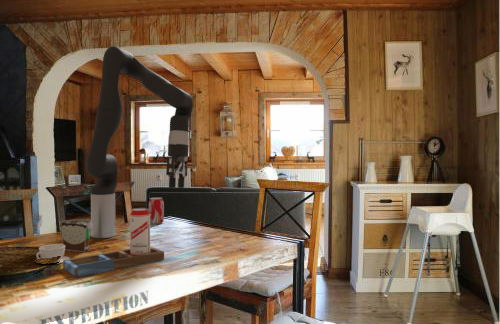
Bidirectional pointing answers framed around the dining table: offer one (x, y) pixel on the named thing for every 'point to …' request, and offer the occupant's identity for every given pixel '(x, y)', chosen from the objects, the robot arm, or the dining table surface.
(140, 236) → the beer can
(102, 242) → the dining table surface
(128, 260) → the slotted rack
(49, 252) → the teacup
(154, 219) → the soda can
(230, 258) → the dining table surface
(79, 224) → the food container
